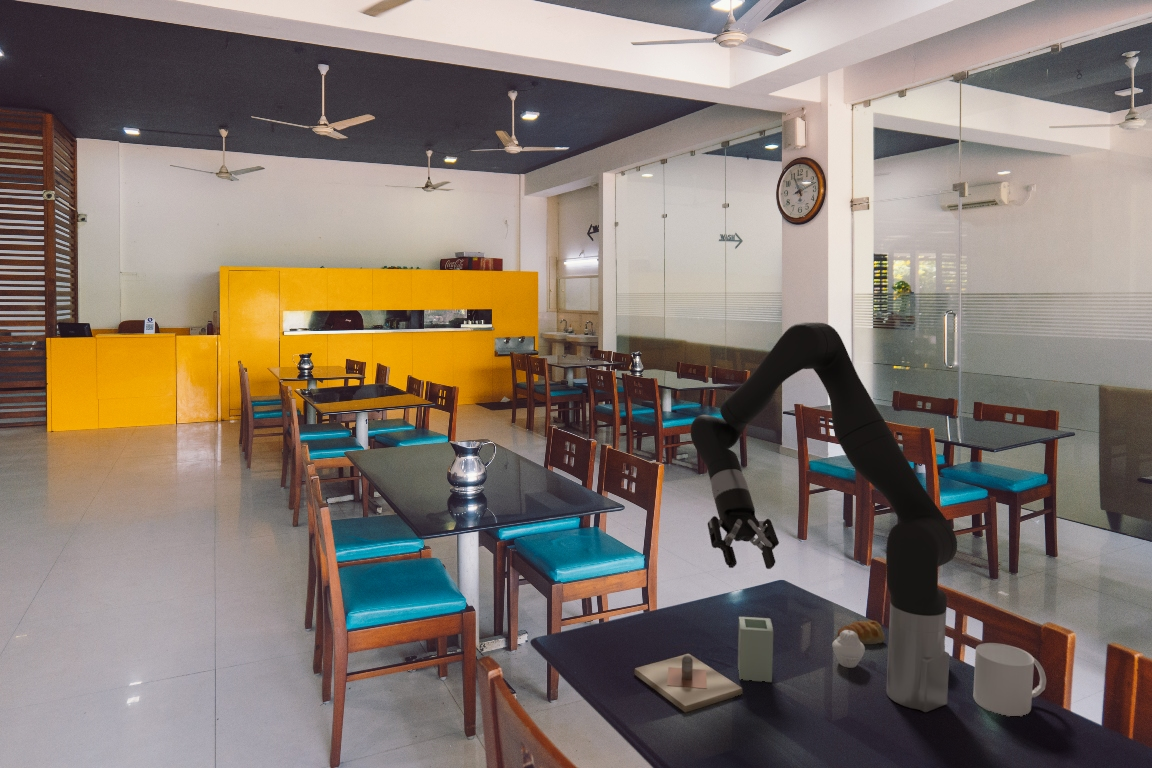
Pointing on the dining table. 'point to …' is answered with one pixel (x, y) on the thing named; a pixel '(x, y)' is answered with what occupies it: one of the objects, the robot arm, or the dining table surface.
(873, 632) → the pastry
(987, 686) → the mug
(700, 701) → the post board
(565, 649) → the dining table surface
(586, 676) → the dining table surface
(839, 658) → the white piece
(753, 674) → the sleeve
